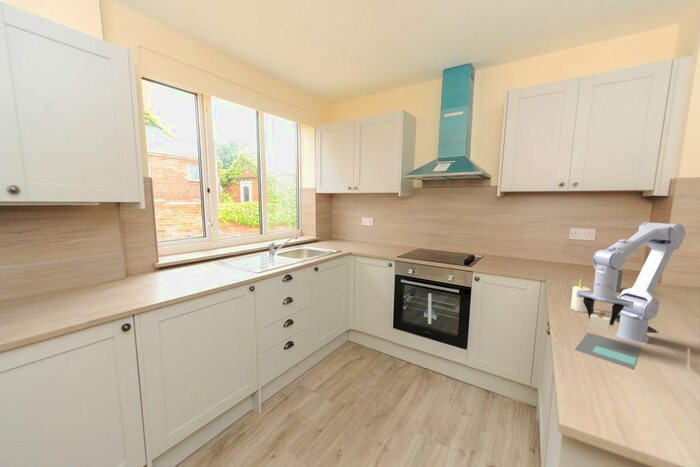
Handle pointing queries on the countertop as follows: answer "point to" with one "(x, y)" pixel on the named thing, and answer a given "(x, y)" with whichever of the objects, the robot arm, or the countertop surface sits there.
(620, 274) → the green pot
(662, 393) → the countertop surface
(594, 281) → the robot arm
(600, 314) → the card box
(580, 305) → the candle
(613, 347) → the mat
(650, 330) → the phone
